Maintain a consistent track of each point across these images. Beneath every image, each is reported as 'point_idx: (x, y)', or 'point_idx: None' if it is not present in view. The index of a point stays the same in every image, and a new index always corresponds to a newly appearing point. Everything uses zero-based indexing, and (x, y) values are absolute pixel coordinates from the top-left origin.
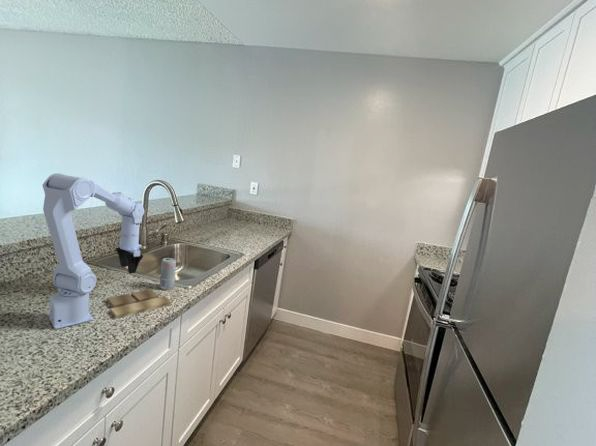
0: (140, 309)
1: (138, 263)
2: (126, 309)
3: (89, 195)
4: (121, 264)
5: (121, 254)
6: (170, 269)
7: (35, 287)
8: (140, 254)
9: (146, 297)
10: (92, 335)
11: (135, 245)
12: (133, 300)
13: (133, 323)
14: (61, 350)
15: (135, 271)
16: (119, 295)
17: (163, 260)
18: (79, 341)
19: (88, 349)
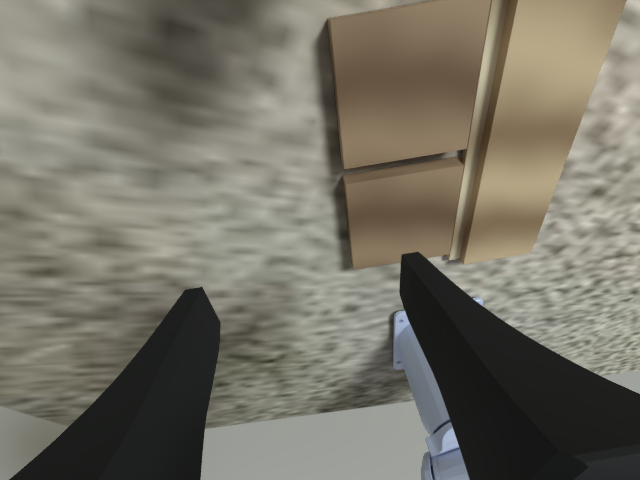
0: (563, 161)
1: (505, 325)
2: (516, 216)
3: None
4: (218, 347)
5: (191, 477)
6: None
7: None
8: (600, 474)
9: (465, 98)
10: (560, 297)
11: None
12: (455, 177)
13: (607, 196)
14: (563, 338)
15: (427, 261)
16: (349, 224)
17: None
18: (560, 317)
19: (612, 303)
